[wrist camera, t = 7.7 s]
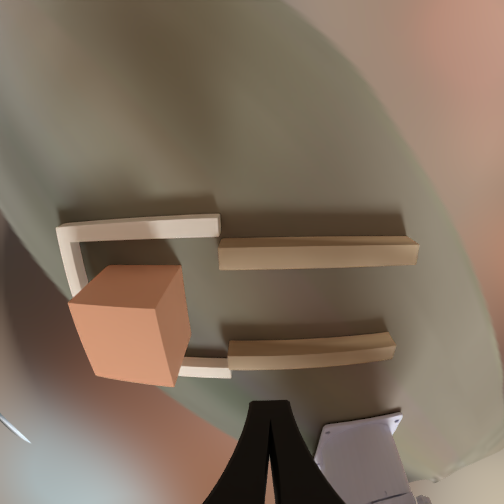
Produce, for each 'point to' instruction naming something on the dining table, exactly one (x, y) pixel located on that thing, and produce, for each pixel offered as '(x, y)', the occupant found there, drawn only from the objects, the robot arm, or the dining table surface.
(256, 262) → the parallel wooden rails
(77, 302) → the terracotta block
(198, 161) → the dining table surface
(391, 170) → the dining table surface
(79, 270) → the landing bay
